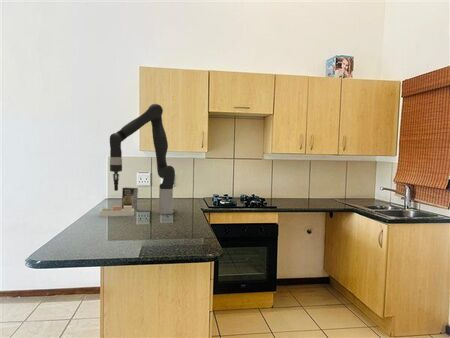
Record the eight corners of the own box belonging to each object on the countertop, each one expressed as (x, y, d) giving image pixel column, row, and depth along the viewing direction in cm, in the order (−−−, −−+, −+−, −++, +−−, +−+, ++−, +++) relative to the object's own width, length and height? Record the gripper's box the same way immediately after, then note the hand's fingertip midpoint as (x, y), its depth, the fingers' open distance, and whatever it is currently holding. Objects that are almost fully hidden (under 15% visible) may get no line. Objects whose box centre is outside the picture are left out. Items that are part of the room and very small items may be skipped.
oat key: (131, 210, 212) (131, 205, 212) (131, 211, 208) (131, 206, 207) (123, 210, 211) (123, 205, 211) (123, 211, 206) (123, 207, 206)
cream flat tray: (133, 213, 214) (133, 208, 214) (134, 215, 207) (134, 210, 207) (100, 214, 208) (100, 209, 207) (99, 216, 200) (99, 211, 200)
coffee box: (121, 210, 225) (121, 187, 225) (126, 209, 232) (126, 187, 231) (132, 211, 223) (133, 188, 223) (137, 209, 229) (138, 187, 229)
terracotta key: (121, 210, 210) (121, 205, 210) (121, 211, 205) (121, 207, 205) (113, 210, 209) (113, 205, 209) (112, 211, 204) (113, 207, 204)
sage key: (110, 211, 208) (111, 207, 208) (110, 213, 203) (110, 208, 203) (102, 212, 207) (102, 207, 207) (102, 213, 202) (102, 208, 202)
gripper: (122, 164, 201) (122, 191, 202) (122, 163, 213) (122, 189, 214) (109, 164, 198) (109, 191, 199) (110, 163, 211) (110, 189, 212)
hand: (116, 190), depth 207 cm, fingers closed
